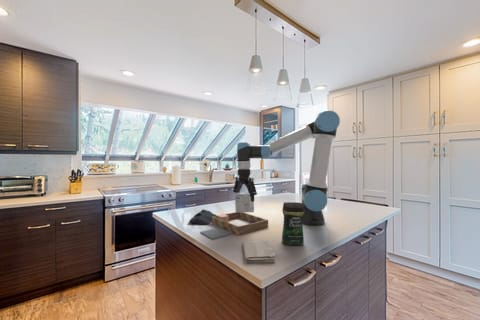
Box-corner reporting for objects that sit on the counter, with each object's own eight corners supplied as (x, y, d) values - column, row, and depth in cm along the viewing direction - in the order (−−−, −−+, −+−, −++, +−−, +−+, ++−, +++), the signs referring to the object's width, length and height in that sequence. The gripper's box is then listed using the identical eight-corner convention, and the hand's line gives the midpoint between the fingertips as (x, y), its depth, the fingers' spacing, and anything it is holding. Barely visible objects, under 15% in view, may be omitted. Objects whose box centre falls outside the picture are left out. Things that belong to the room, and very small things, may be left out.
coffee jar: (283, 246, 96) (283, 204, 96) (280, 239, 104) (280, 200, 104) (305, 246, 96) (305, 204, 96) (301, 239, 104) (301, 200, 103)
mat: (232, 234, 111) (232, 233, 111) (212, 239, 103) (212, 238, 103) (219, 228, 120) (219, 227, 120) (200, 233, 113) (200, 231, 113)
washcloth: (245, 265, 79) (245, 257, 79) (241, 245, 97) (241, 239, 97) (277, 264, 80) (277, 256, 80) (267, 245, 98) (267, 238, 98)
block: (228, 224, 128) (228, 215, 128) (221, 225, 125) (221, 217, 125) (224, 222, 132) (224, 214, 132) (217, 223, 129) (217, 215, 129)
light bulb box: (254, 209, 131) (253, 192, 131) (253, 212, 124) (253, 193, 124) (236, 210, 132) (236, 192, 132) (235, 212, 125) (234, 194, 125)
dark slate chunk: (184, 225, 128) (184, 217, 128) (196, 215, 150) (196, 208, 149) (210, 226, 126) (210, 218, 126) (218, 216, 148) (218, 209, 148)
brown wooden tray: (268, 227, 123) (268, 219, 123) (238, 235, 109) (238, 227, 109) (240, 217, 143) (240, 211, 143) (211, 223, 129) (211, 216, 129)
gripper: (227, 168, 135) (227, 203, 135) (252, 169, 116) (253, 209, 116) (236, 168, 140) (237, 201, 140) (262, 168, 121) (263, 207, 121)
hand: (244, 205), depth 128 cm, fingers closed on light bulb box, 12 cm apart
